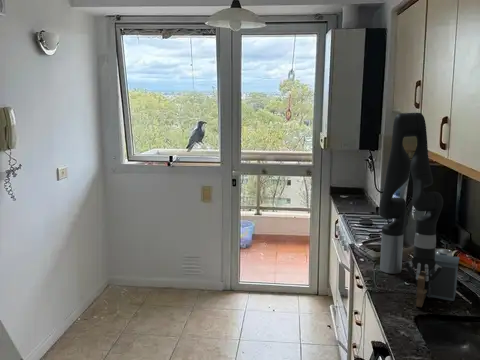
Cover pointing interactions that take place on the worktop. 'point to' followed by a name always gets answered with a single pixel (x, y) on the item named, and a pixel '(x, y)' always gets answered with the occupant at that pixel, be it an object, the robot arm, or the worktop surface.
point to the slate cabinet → (444, 278)
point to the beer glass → (443, 252)
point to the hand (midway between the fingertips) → (421, 288)
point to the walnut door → (421, 289)
